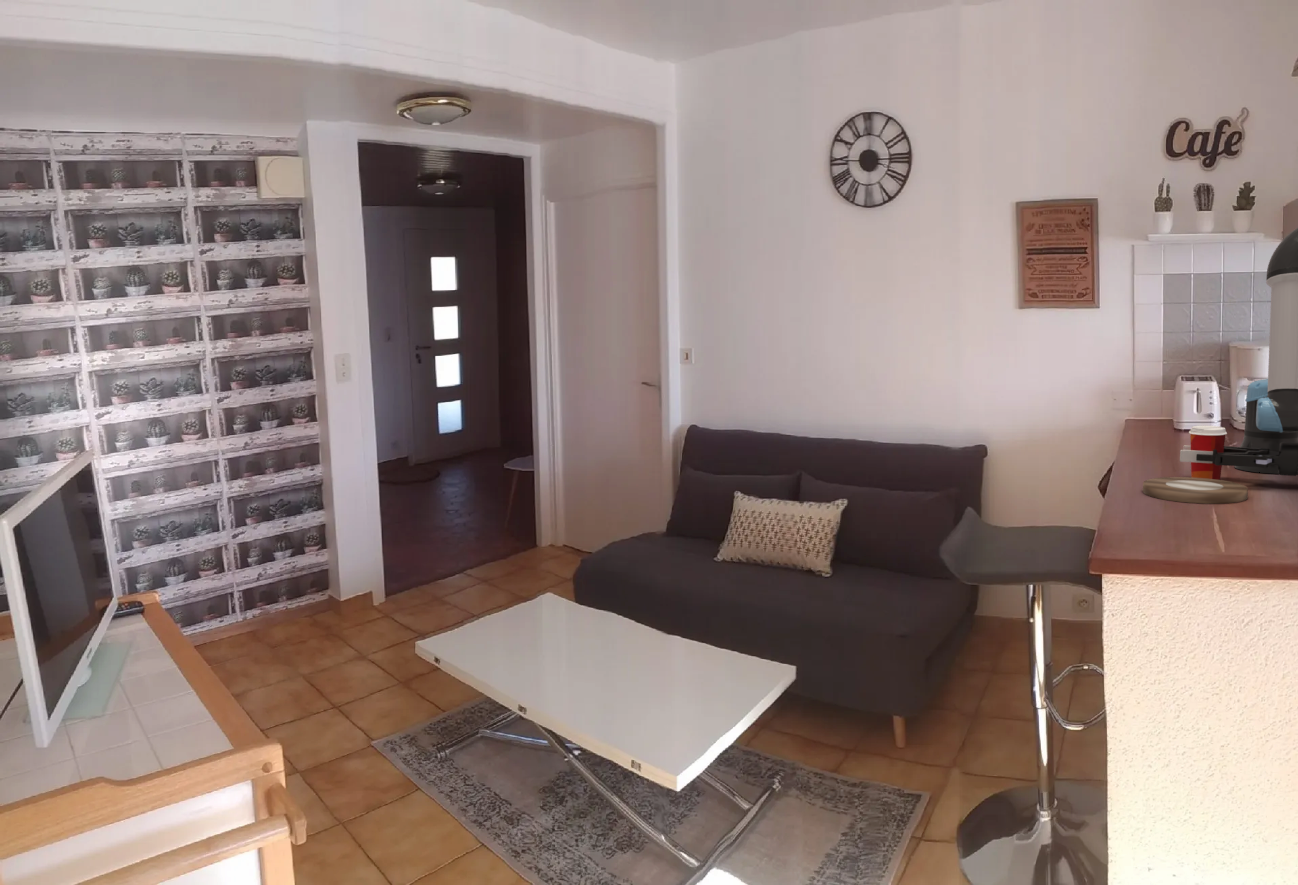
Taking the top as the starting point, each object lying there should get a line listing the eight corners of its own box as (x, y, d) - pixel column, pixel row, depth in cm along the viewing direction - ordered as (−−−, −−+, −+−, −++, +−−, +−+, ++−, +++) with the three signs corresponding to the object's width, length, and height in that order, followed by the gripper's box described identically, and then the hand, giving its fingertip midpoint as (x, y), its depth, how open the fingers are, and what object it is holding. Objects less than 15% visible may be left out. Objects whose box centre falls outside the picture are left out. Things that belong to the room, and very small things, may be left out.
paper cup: (1214, 482, 220) (1216, 424, 218) (1231, 488, 212) (1234, 429, 210) (1179, 483, 221) (1182, 425, 219) (1195, 489, 213) (1198, 430, 211)
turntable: (1148, 482, 217) (1149, 474, 217) (1249, 489, 205) (1249, 480, 205) (1136, 498, 201) (1137, 489, 200) (1245, 507, 189) (1245, 497, 189)
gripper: (1299, 483, 198) (1176, 475, 211) (1299, 468, 214) (1185, 462, 227) (1301, 449, 197) (1178, 443, 210) (1301, 437, 212) (1186, 432, 226)
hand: (1182, 453), depth 218 cm, fingers closed on paper cup, 6 cm apart
